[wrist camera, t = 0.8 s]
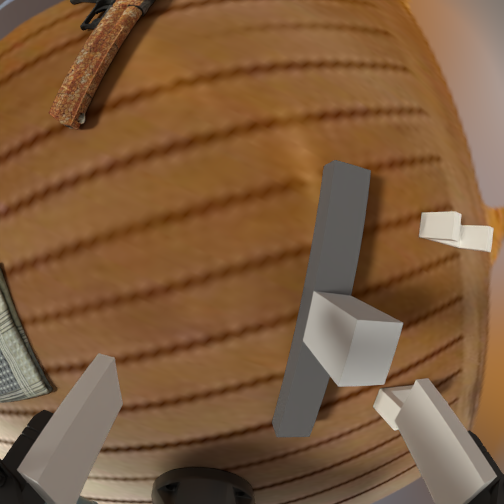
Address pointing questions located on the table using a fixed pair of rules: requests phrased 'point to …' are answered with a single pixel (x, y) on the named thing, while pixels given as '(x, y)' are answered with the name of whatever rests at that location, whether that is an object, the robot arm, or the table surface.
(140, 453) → the table surface
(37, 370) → the dish towel
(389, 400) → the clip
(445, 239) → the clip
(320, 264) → the bar
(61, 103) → the decorative handgun
